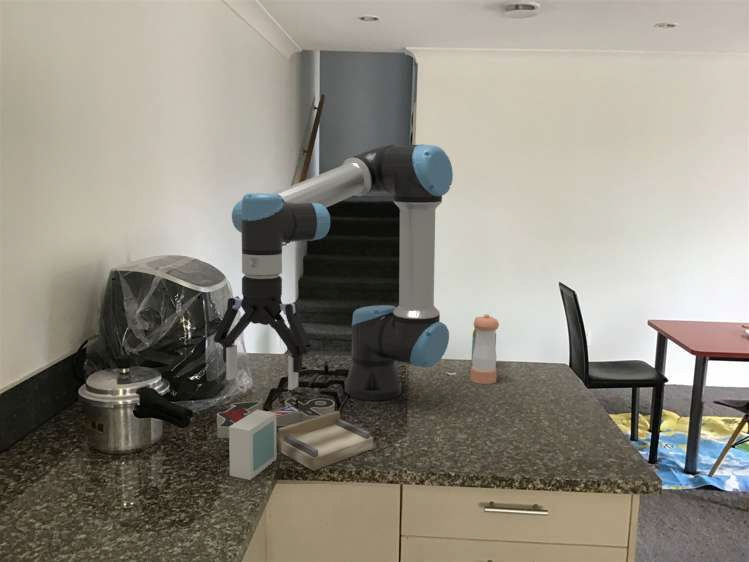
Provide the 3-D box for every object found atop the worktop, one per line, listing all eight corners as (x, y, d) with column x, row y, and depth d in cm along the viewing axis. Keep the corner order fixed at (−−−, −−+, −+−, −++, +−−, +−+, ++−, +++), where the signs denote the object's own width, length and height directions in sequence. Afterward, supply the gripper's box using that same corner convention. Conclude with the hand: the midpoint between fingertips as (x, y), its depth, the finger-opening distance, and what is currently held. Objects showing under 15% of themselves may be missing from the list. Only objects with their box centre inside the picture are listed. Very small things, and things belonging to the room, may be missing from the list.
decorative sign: (198, 411, 155) (309, 387, 172) (198, 422, 155) (309, 398, 173) (239, 443, 137) (358, 414, 155) (239, 456, 138) (358, 426, 155)
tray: (278, 451, 140) (278, 428, 139) (336, 431, 151) (337, 410, 150) (313, 470, 131) (313, 446, 130) (373, 448, 142) (373, 426, 141)
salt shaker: (470, 375, 194) (473, 311, 191) (495, 377, 193) (499, 312, 190) (470, 383, 187) (473, 316, 183) (496, 385, 186) (500, 318, 182)
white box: (229, 475, 128) (229, 426, 127) (257, 455, 138) (257, 409, 136) (250, 480, 127) (249, 430, 125) (276, 459, 136) (276, 413, 134)
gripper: (194, 272, 127) (196, 379, 130) (312, 283, 118) (311, 397, 122) (217, 267, 134) (218, 369, 137) (330, 277, 125) (328, 386, 129)
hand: (262, 383), depth 130 cm, fingers open, 13 cm apart
